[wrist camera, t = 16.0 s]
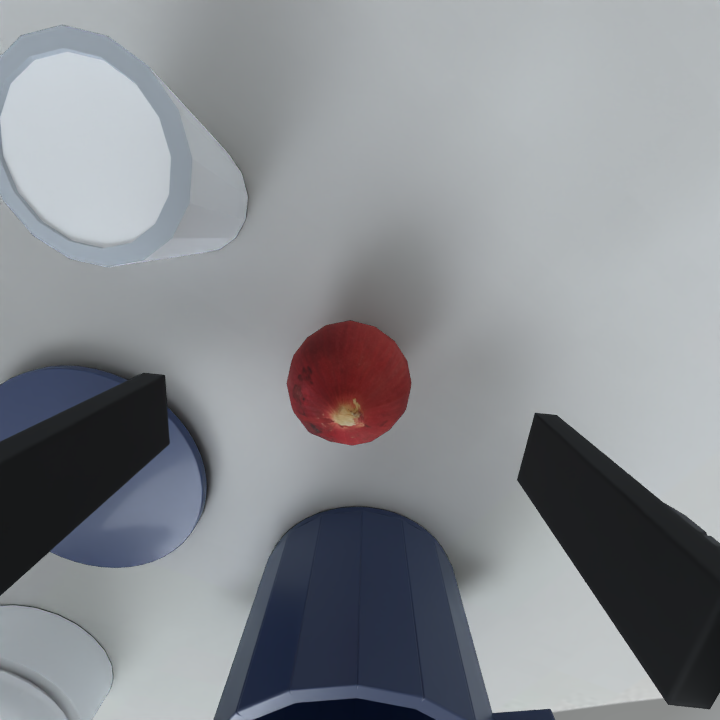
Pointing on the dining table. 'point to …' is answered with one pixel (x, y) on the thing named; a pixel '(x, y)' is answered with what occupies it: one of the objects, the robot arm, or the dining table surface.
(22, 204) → the white tapered cylinder
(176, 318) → the dining table surface
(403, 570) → the pot
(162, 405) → the robot arm
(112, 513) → the lid
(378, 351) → the onion
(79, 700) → the honey pot
